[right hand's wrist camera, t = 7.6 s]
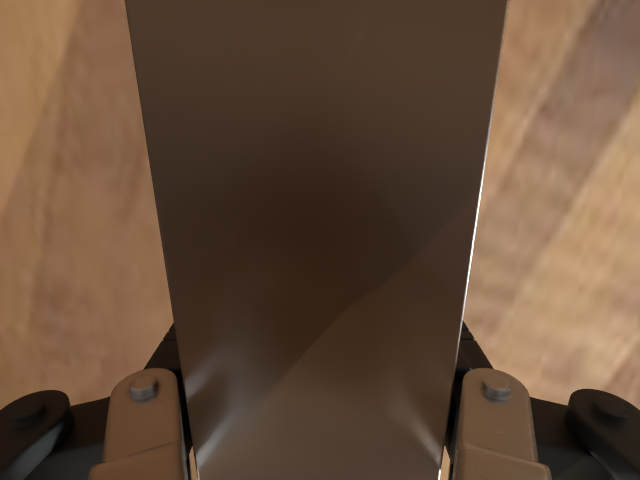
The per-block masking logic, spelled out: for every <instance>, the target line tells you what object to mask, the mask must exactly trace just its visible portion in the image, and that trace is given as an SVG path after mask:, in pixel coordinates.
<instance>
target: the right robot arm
mask: <svg viewBox="0 0 640 480" xmlns="http://www.w3.org/2000/svg"><path fill="white" fill-rule="evenodd" d="M444 445H445V446H446V449H447V452H448V455H449V458H450V465H449V473H448V480H640V410H639V409H637V408H636V407H635V406H633V405H632V404H630V403H629V402H627V401H625V400H624V399H622V398H620V397H618V396H615V395H613V394H610V393H607V392H604V391H600V390H594V389H580V390H577V391H575V392H573V393H572V394H571V396H570V399H569V402H568V406H567V405H562V404H558V403H553V402H549V401H544V400H540V399H536V398H532V397H530V396H529V393H528V391H527V389H526V388H525V386H524V385H523V384H522V383H521V382H520V381H518V380H517V379H516V378H514V377H513V376H511V375H509V374H507V373H505V372H502V371H499V370H495V369H493V367H492V365H491V364H490V362H489V361H488V359H487V358H486V356H485V354H484V353H483V351H482V350H481V348H480V346H479V345H478V343H477V342H476V341H475V340H474V337H473V335H472V334H471V332H469V329H468V328H467V326H466V324H465V323H464V321H462V328H461V334H460V341H459V348H458V355H457V362H456V369H455V375H454V382H453V389H452V396H451V403H450V409H449V416H448V423H447V430H446V437H445V444H444ZM192 446H193V443H192V437H191V430H190V424H189V417H188V411H187V404H186V398H185V391H184V384H183V378H182V371H181V365H180V358H179V352H178V345H177V339H176V332H175V326H174V323H173V324H172V326H171V327H170V329H169V332H167V334H166V335H165V337H164V338H163V341H161V343H160V345H159V346H158V348H157V349H156V351H155V352H154V354H153V355H152V357H151V359H150V360H149V362H148V363H147V365H146V366H145V368H144V370H141V371H138V372H135V373H133V374H131V375H129V376H127V377H126V378H124V379H123V380H122V381H120V382H119V383H118V384H117V385H116V386H115V388H114V389H113V391H112V393H111V396H110V397H107V398H104V399H100V400H96V401H91V402H87V403H83V404H78V405H74V406H71V405H70V402H69V398H68V396H67V395H66V394H65V393H63V392H61V391H57V390H45V391H39V392H35V393H32V394H29V395H26V396H24V397H21V398H19V399H17V400H15V401H13V402H12V403H10V404H8V405H7V406H6V407H4V408H3V409H1V410H0V480H192V473H191V465H190V459H189V453H190V450H191V448H192Z"/></svg>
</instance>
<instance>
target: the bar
mask: <svg viewBox="0 0 640 480" xmlns="http://www.w3.org/2000/svg"><path fill="white" fill-rule="evenodd" d="M125 5H126V11H127V18H128V24H129V31H130V37H131V44H132V51H133V57H134V64H135V70H136V77H137V83H138V90H139V96H140V103H141V109H142V116H143V123H144V129H145V136H146V142H147V149H148V155H149V162H150V168H151V175H152V181H153V188H154V195H155V201H156V208H157V214H158V221H159V227H160V234H161V240H162V247H163V254H164V260H165V267H166V273H167V280H168V286H169V293H170V299H171V306H172V312H173V319H174V326H175V332H176V339H177V345H178V352H179V358H180V365H181V371H182V378H183V384H184V391H185V398H186V404H187V411H188V417H189V424H190V430H191V437H192V443H193V450H194V457H195V463H196V470H197V476H198V480H439V478H440V471H441V464H442V457H443V450H444V444H445V437H446V430H447V423H448V416H449V409H450V403H451V396H452V389H453V382H454V375H455V369H456V362H457V355H458V348H459V341H460V334H461V328H462V321H463V314H464V307H465V300H466V293H467V287H468V280H469V273H470V266H471V259H472V252H473V246H474V239H475V232H476V225H477V218H478V211H479V205H480V198H481V191H482V184H483V177H484V170H485V164H486V157H487V150H488V143H489V136H490V129H491V123H492V116H493V109H494V102H495V95H496V88H497V82H498V75H499V68H500V61H501V54H502V47H503V41H504V34H505V27H506V20H507V13H508V6H509V0H125Z"/></svg>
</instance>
